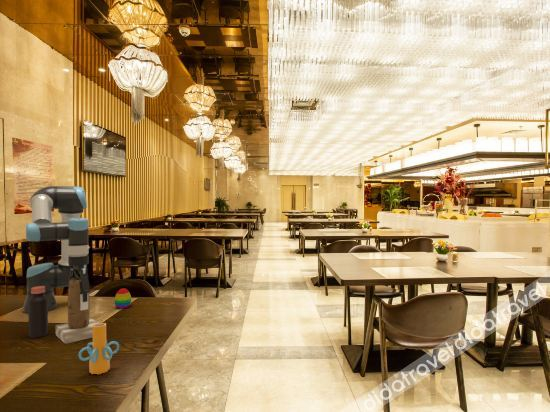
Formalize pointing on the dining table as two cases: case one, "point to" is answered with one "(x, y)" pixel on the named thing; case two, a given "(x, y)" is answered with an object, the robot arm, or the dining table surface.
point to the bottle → (38, 312)
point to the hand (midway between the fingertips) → (78, 306)
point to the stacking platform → (74, 332)
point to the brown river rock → (76, 306)
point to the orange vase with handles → (99, 350)
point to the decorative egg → (122, 298)
